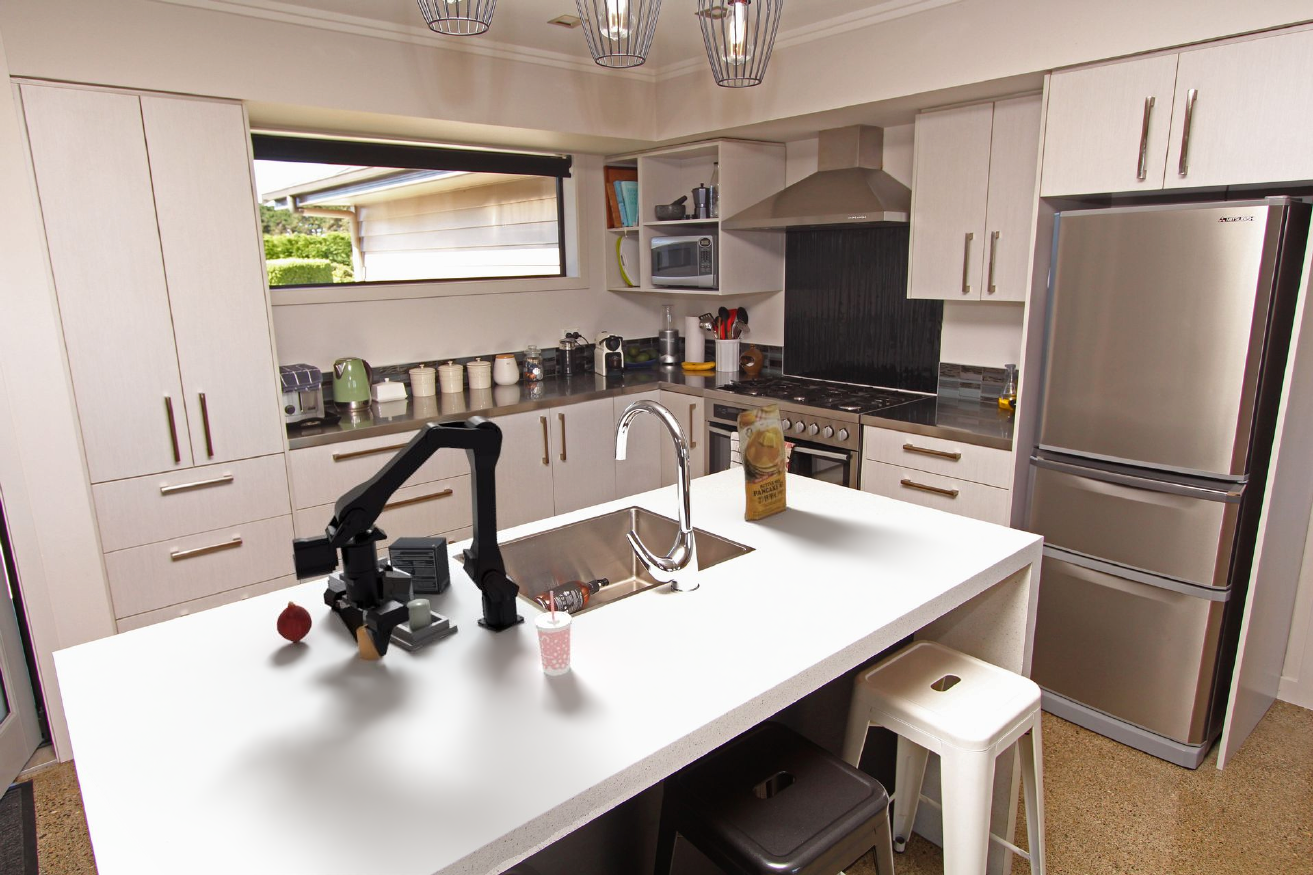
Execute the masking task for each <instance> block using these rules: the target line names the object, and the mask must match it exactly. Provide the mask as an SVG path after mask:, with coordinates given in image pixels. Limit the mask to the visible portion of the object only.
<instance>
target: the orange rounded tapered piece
mask: <svg viewBox="0 0 1313 875" xmlns="http://www.w3.org/2000/svg"><path fill="white" fill-rule="evenodd" d="M367 625H368V624H367ZM367 625H363V626H361V627H359V628H358V629H357V639H358V653H359V658H360V660H362V661H366V662H367V661H374V660H377V659H379V658H381V657H380V656H379V654H378V653H377V651H376V649H375V647H374V645H373V643H372V641H371V639H370V637H369V635H368V633H367V632H366V630H365V628H364V626H367Z"/></svg>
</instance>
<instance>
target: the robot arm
mask: <svg viewBox="0 0 1313 875" xmlns="http://www.w3.org/2000/svg"><path fill="white" fill-rule="evenodd" d="M503 438H504V437H503V431H502V429H501V428H500V426H499V425H497V423H495V422H493V421H492V420H489V419H488V418H486V417H485V416H482V415H475V416H471V417H469V418H467V420H452V421H445V422H427V423H425V424H424V425H423V426H422V427H421V428H420V430H419V431H418V432H417V433H416V434H415V435H414V436H413V438H411V439H410V440H409V442H407V443H406V444H405V445H404V446H403V447H402V448H401V449H400V450H399V451H398V452H397V453H396V454H395V455H394V456H393V457H392V458H390V460H389V461H387V463H386V464H384V466H382V468H380V469H379V470H378V471H377V473H375V474H374V475H373V476H372V477H371V478H369V479H367V480H365V481H364V482H361V483H360V484H358V485H356V486H354V487H353V488H351V489H350V490H348V491H347V492H346V493H344V494H343V495H342V496H339V497H338V499H337V500H336V502H335V503H334V510H333V511H334V515H333V516H332V518H331V519H330V521H329V523H328V525H327V526H326V528H325V529H324V533H325V534H321V535H314V536H309V537H297V538H293V539H292V540H291V542H292V549H293V550H292V551H293V552H292V553H293V554H292V562H293V567H294V571H295V572H294V573H295V577H296V578H295V579H296V581H301V580H305V579H307V580H308V579H312V578H317V577H323V576H325V575H329V574H332V573H334V572H335V571H337V567H339V566H340V565H339V564H340V561H339V554H338V549H340V556H341V561H342V563H341V564H342V570H343V572H344V573H341V574H339V579H340V580H342V581H344V582H343V583H340V584H337V585H334V586H331V587H329V588H328V587H327V588H326V590H325V591H324V593H323V602H324V605H326V606H328V607H330V610H331V612H333V614H335V616H336V617H337V618H338V620H339V621H340V622H341V624H342V625H343V627H344V628H345V629H346V630H347V632H348V633H349V635H350V636H351V637H352V639H353V640H354V641H355V644H358V639H357V629H358V628H359V627H361V626H363V611H364V610H366V611H368V613H367V615H366V623H367V624H368V625H367V626H364V628H365V630H366V632H367V633H368V635H369V637H370V639H371V641H372V643H373V645H374V647H375V649H376V651H377V653H378V654H379V656H380V657H379V658H382V657H384V656H386V655H387V653H388V649H389V644H390V641H391V640H390V637H391V634H392V631H393V628H394V627H395V626H397V625H399V624H402V623H404V622H407V621H409V620H410V612H409V608H408V607H406V606H404V605H402V604H400V603H398V602H396V601H394V600H392V601H390V602H387V603H385V604H382V603H380V602H381V601H380V600H382V599H384V600H385V599H387V598H390V594H404V595H408V594H409V591H410V587H411V582H412V576H409V575H407V574H405V573H402V572H398V571H396V570H393V566H391V565H390V564H389V563H388V564H380V565H379V566H378V559H379V558H378V551H377V542H380V541H384V540H387V539H388V535H387V534H386V532H385V531H384V529H382V528H380V527H378V526H377V525H376V523H375V522H376V521H377V520H378V519H379V517H380V515H381V514H382V513H383V511H384V509H385V507H386V505H387V503H388V501H389V500H390V498H391V497H392V495H393V494H395V493H396V492H397V490H399V489H400V487H402V486H403V484H405V482H407V480H409V479H410V478H411V476H413V475H414V473H416V472H417V471H418V470H419V469H420V468H421V467H422V466H423V465H424V464H425V463H426V462H427V461H428V460H429V459H430V458H431V457H432V456H433V455H434V454H435V453H436V452H437V451H438V450H439V449H455V450H456V449H460V450H464V452H465V455H466V457H467V461H468V463H469V466H470V484H471V485H470V486H471V488H470V489H471V516H472V518H471V519H472V542H471V546H470V548H463V549H462V555H463V558H464V561H463V566H462V569H463V571H464V572H465V573H466V574H467V576H468V577H469V579H470V580H471V581H472V582H473V584H474V585H475V587H477V589H478V590H480V592H481V607H482V615H483V617H481V618H479V619H477V624H479V625H481V626H483V627H485V628H487V629H489V630H492V631H494V632H498V633H499V632H502V631H504V630H506V629H509V628H510V627H513V626H514V625H517V624H519V623H521V622H523V621H524V620H525V617H524V616H522V615H520V614H518V611H517V610H518V608H517V597H518V595H519V591H520V585H519V584H518V583H517V582H516V581H515V580H514V579H513V577H512V576H510V574H508V572H507V571H506V567H505V563H504V562H505V561H504V558H503V555H502V552H501V549H500V546H499V543H498V524H497V521H498V520H497V494H496V493H497V490H496V489H497V488H496V467H497V464H498V461H499V459H500V457H501V453H502V445H503Z"/></svg>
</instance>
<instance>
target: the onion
mask: <svg viewBox="0 0 1313 875" xmlns="http://www.w3.org/2000/svg"><path fill="white" fill-rule="evenodd" d="M312 625H313V621H312V616H311V614H310V612H309V611H308V610H307V609H306V608H305V607H303V606H301V605H298V604H295V603H294V601H292V600H289V601H288V603H287V606H286V608H284V609H283V610H282V611H281V613H280V614H279V615H278V618H277V621H276V630H277V633H278V634H279V635H280V636H281V637H282V638H283V639H285V640H287V641H290V642H293V643H298V642H300V641H301V640H302V639H305V637H306V636H307V635H308V634H309V633H310V630H311V628H312V627H313V626H312Z"/></svg>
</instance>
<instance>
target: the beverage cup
mask: <svg viewBox="0 0 1313 875" xmlns="http://www.w3.org/2000/svg"><path fill="white" fill-rule="evenodd" d="M549 596H550V609H551V611H547V612H545V613H541V614H540V615H538V616H537V617H536V618H535V619H534V624H535V629H537V636H538V643H539V650H540V657H541V666H542V671H543V673H544V674H545V675H547V676H561V675H564V674H566V673H567V672H569V671H570V669H571V625H572V624H573V622H572V620H573V618H572V615H570V614H569V613H568V612H564V611H555V604H554V603H555V602H554V601H555V600H554V591H553V590H550V591H549Z"/></svg>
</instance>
